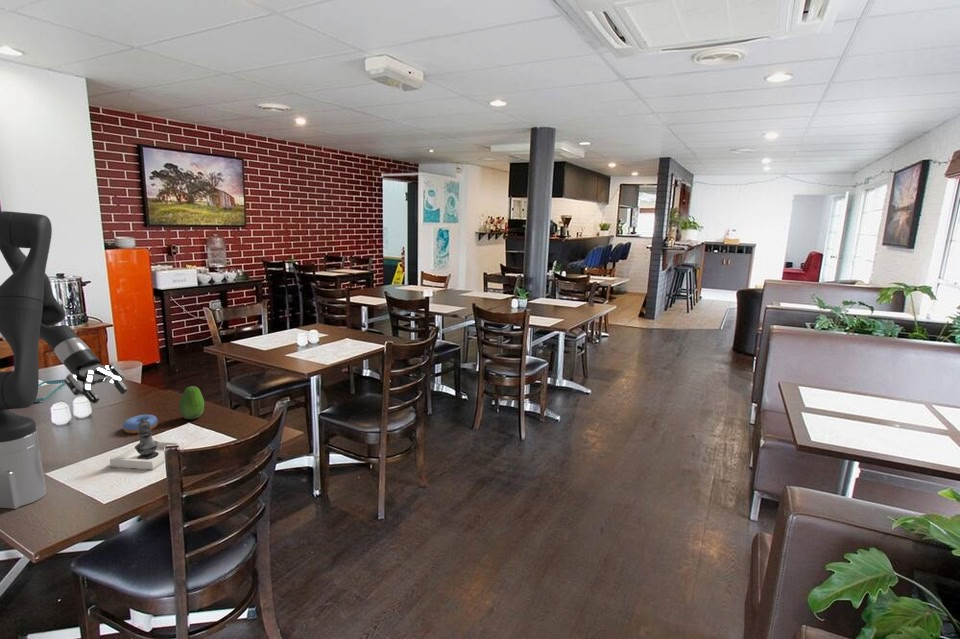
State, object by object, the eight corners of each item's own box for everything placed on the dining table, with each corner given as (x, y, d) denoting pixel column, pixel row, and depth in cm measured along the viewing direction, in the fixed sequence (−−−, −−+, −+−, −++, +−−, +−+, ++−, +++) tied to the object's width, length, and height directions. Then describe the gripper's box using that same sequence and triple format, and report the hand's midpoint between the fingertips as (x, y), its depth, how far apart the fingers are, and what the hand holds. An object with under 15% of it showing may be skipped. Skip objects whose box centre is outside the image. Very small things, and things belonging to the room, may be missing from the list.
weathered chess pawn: (148, 461, 144) (143, 422, 142) (131, 459, 145) (126, 421, 143) (164, 452, 150) (160, 415, 148) (147, 450, 151) (143, 413, 149)
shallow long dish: (43, 385, 211) (42, 380, 211) (69, 383, 214) (68, 378, 214) (14, 406, 187) (13, 400, 187) (44, 403, 191) (43, 397, 190)
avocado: (209, 417, 179) (206, 385, 176) (186, 424, 172) (183, 391, 170) (199, 412, 183) (196, 381, 181) (176, 418, 177) (172, 386, 175)
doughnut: (132, 436, 161) (132, 423, 161) (116, 432, 166) (116, 418, 166) (164, 429, 170) (164, 416, 170) (148, 424, 175) (148, 411, 175)
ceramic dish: (153, 469, 141) (152, 461, 140) (110, 467, 142) (109, 459, 142) (184, 449, 154) (183, 442, 153) (144, 447, 155) (144, 439, 154)
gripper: (56, 354, 140) (92, 397, 139) (105, 343, 154) (139, 382, 153) (45, 370, 143) (81, 412, 142) (95, 358, 156) (128, 396, 155)
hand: (111, 396), depth 147 cm, fingers open, 8 cm apart
